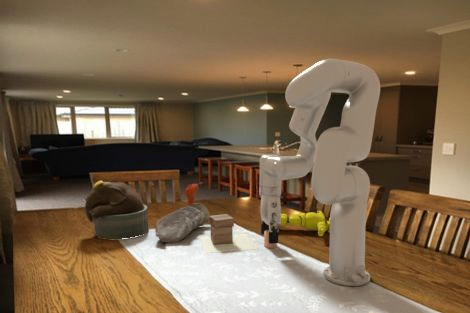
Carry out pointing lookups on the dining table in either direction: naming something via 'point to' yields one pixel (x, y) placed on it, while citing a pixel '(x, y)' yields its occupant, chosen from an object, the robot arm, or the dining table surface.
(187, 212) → the decorative stone
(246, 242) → the board
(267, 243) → the cylinder
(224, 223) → the slab top
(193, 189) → the toy drill
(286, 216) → the toy
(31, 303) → the dining table surface
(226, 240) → the slab bottom
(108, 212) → the brown blob in bowl
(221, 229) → the slab mid
